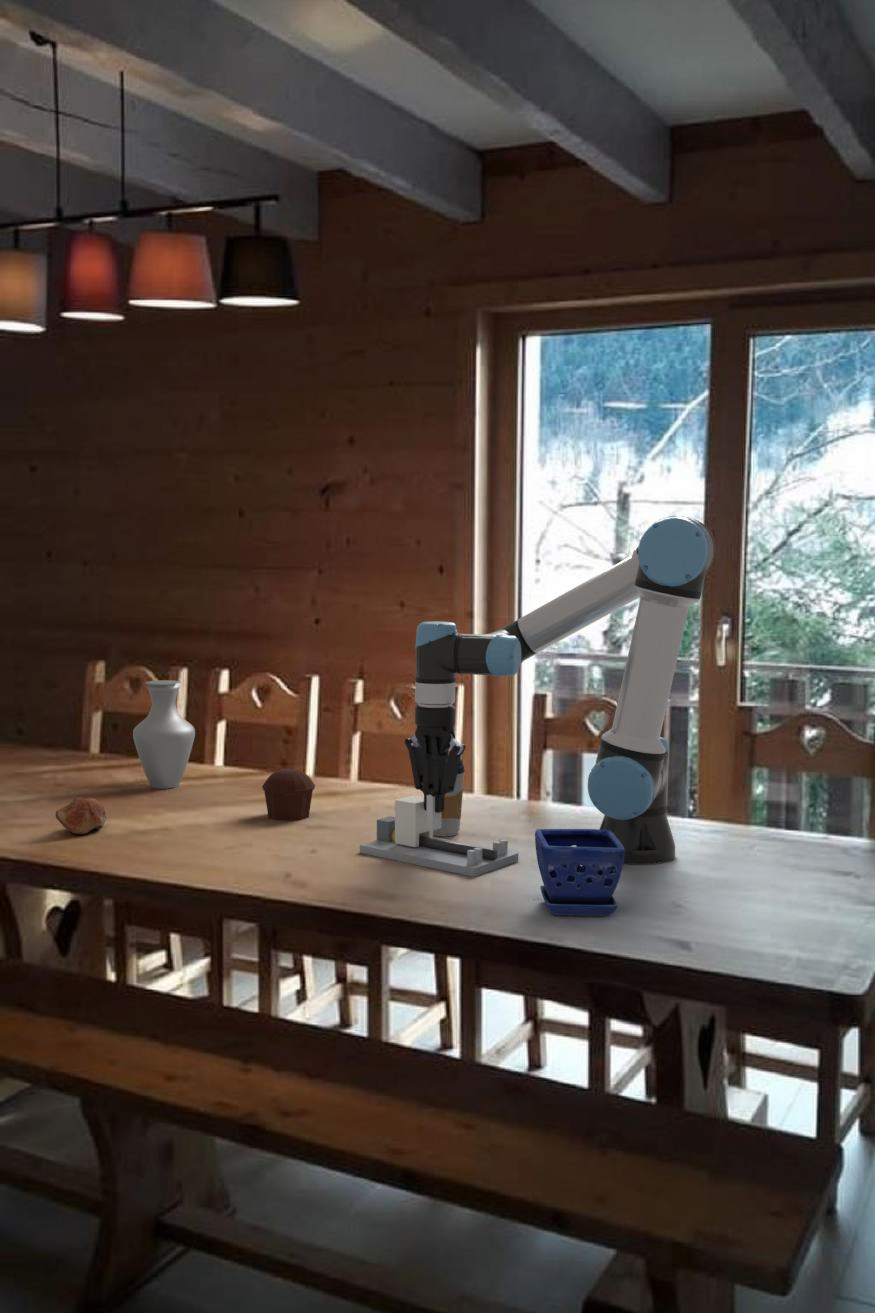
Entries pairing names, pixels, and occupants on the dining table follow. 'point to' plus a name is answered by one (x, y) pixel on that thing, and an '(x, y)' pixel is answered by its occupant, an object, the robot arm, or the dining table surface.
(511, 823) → the dining table surface
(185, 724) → the vase
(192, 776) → the dining table surface
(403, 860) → the sliding block rail
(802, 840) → the dining table surface
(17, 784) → the dining table surface
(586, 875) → the flower pot
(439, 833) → the coffee cup
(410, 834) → the cream rail slider block
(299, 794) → the muffin
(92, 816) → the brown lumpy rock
